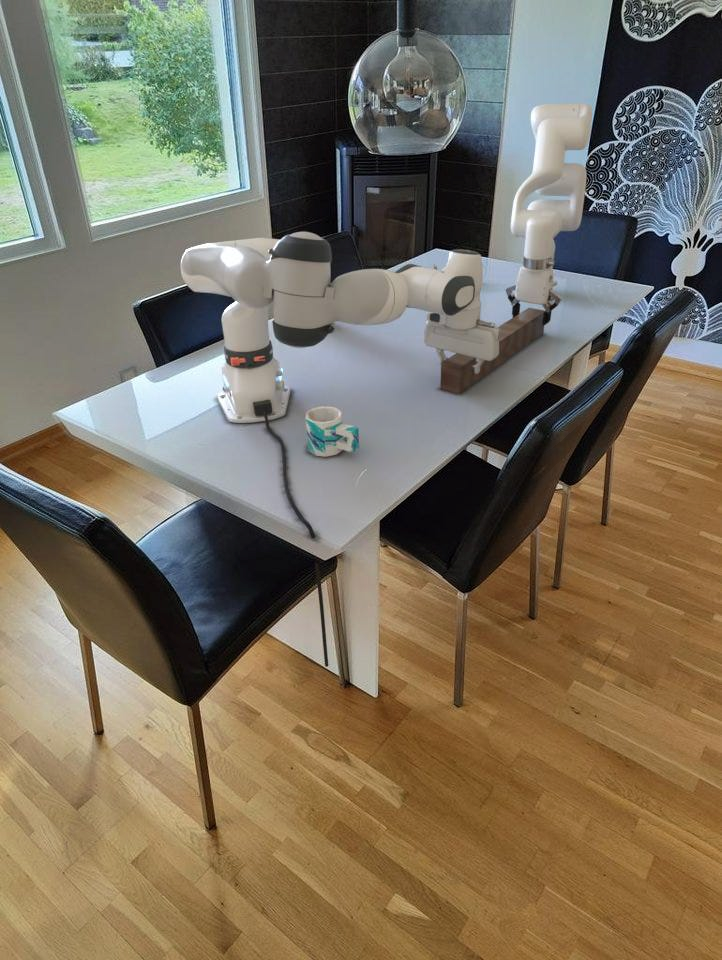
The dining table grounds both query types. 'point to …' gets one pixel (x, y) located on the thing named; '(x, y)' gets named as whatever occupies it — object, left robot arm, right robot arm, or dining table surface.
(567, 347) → the dining table surface
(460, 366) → the bar
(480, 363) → the left robot arm
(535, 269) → the right robot arm
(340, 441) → the mug
